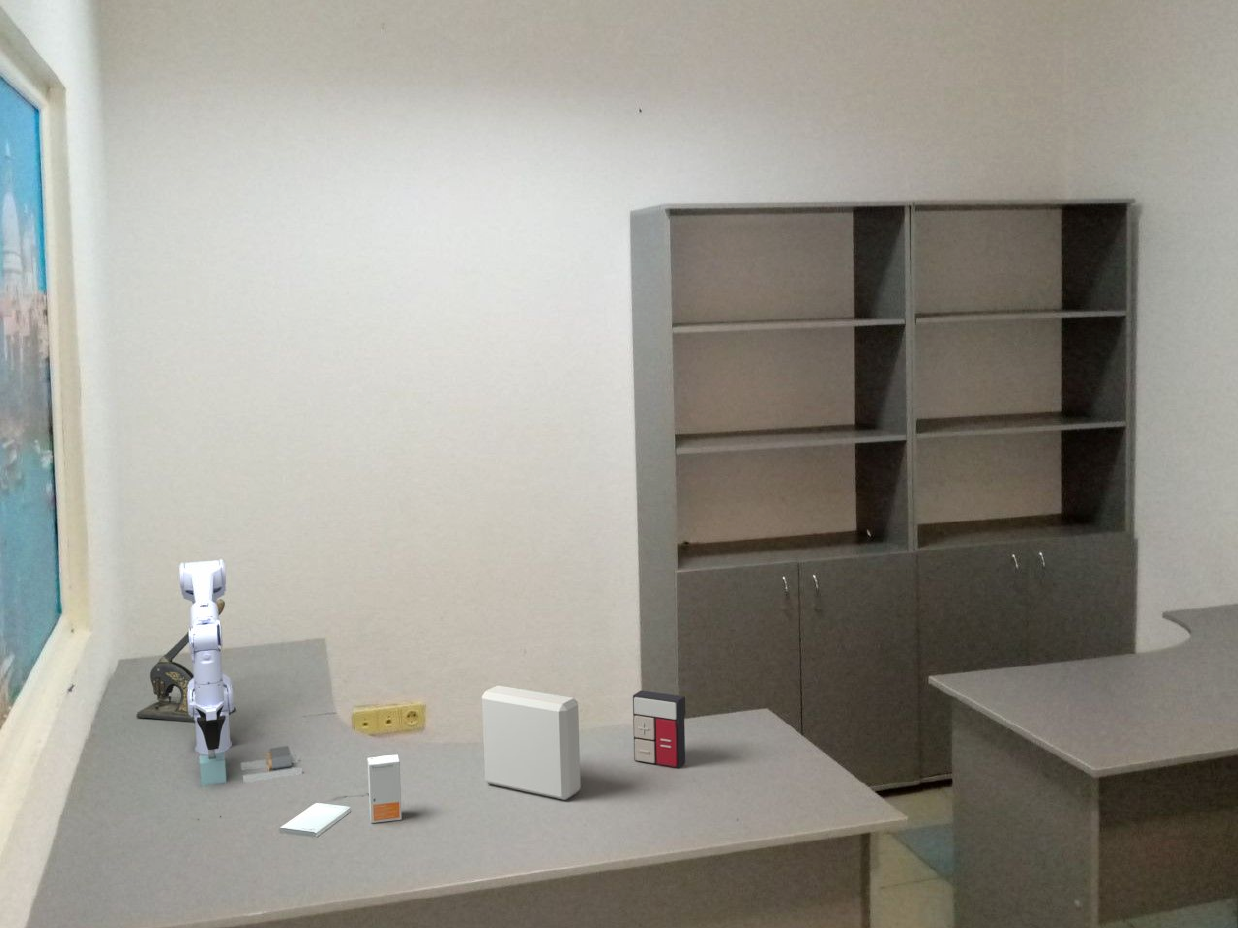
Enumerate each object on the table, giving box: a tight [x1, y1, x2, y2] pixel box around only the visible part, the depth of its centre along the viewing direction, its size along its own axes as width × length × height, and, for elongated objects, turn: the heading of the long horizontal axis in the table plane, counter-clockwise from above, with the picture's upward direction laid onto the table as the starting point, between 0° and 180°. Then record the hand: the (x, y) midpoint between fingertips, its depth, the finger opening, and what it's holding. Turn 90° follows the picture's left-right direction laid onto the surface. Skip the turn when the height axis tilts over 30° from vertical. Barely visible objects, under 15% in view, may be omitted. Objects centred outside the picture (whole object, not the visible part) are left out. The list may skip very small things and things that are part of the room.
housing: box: [198, 750, 227, 787], centre depth 249 cm, size 5×5×6 cm
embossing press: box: [136, 598, 237, 723], centre depth 295 cm, size 11×24×30 cm, turn 74°
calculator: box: [632, 689, 686, 769], centre depth 256 cm, size 11×4×15 cm, turn 62°
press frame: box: [240, 753, 303, 783], centre depth 252 cm, size 12×22×3 cm, turn 111°
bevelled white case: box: [481, 685, 582, 801], centre depth 244 cm, size 21×8×20 cm, turn 59°
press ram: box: [266, 745, 293, 771], centre depth 254 cm, size 6×5×4 cm
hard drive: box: [278, 802, 352, 838], centre depth 230 cm, size 2×8×12 cm
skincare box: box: [366, 754, 402, 824], centre depth 230 cm, size 6×4×12 cm
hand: (212, 743), depth 249 cm, fingers open, 7 cm apart
